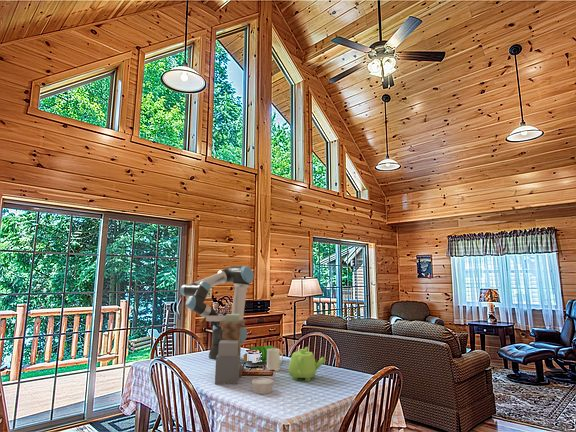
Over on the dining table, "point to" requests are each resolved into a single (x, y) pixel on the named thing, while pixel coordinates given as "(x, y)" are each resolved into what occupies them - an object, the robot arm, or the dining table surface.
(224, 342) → the stepped grey block
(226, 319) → the handled block
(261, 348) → the decorative tree
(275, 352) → the mug
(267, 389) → the ramekin
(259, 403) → the dining table surface
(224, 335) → the walnut stand
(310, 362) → the teapot
